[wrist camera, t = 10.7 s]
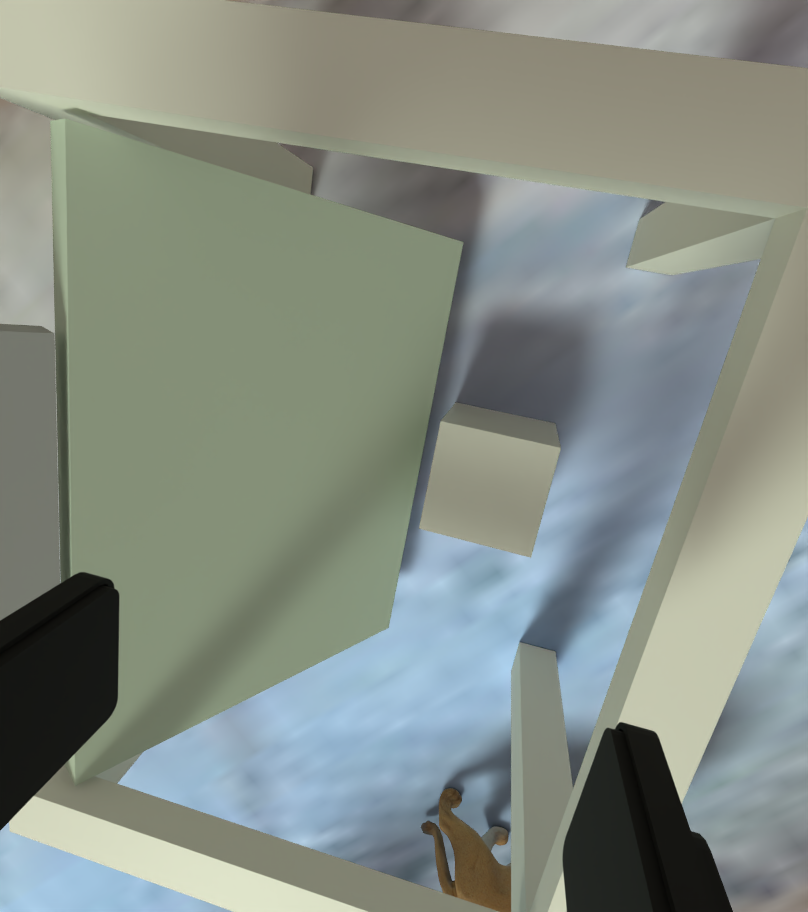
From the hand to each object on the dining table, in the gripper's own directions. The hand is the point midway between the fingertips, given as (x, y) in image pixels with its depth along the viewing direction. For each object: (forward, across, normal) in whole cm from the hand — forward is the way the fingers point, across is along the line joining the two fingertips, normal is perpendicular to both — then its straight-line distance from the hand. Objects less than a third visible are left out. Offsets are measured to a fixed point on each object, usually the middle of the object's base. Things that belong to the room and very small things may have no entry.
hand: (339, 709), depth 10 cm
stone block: (+16, 0, 0) cm, 17 cm away
